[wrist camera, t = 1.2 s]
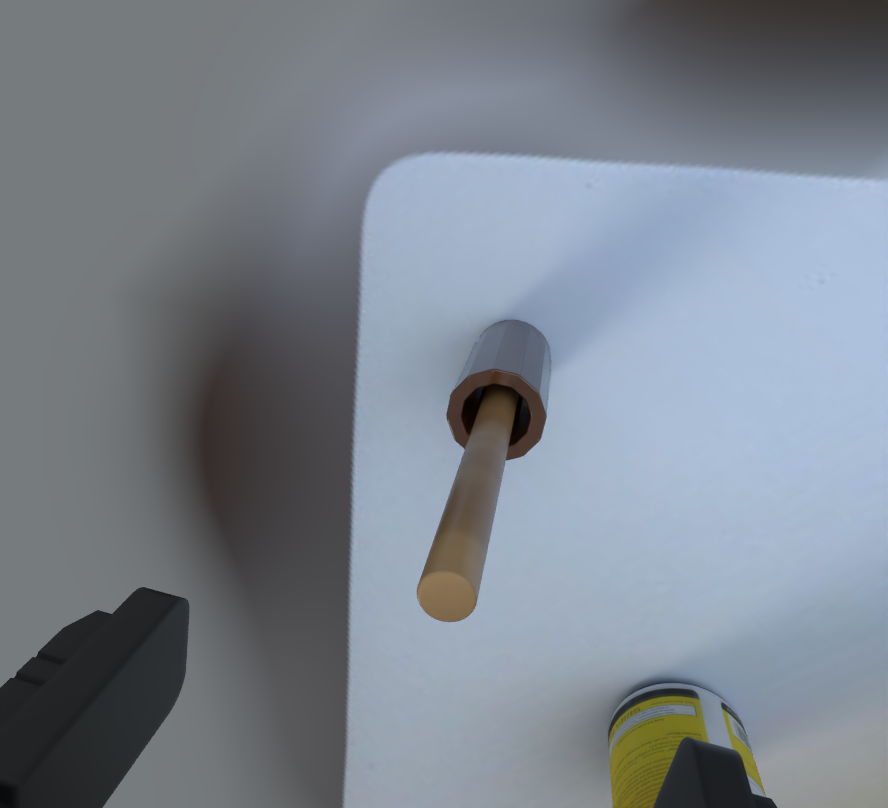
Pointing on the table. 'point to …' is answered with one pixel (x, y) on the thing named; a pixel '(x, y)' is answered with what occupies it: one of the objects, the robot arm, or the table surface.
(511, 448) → the holder
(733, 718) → the pill bottle
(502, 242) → the table surface
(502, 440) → the stick
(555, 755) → the table surface
